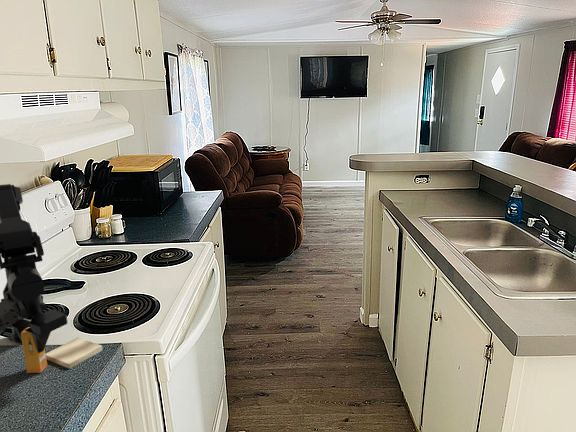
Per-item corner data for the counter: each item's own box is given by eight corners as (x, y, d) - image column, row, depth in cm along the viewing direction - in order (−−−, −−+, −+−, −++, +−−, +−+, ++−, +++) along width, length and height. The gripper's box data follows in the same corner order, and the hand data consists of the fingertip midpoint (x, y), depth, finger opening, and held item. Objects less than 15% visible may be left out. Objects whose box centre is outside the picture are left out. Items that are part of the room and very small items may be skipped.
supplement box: (48, 364, 103) (42, 325, 101) (41, 373, 100) (34, 333, 97) (34, 365, 103) (27, 325, 101) (26, 373, 100) (19, 333, 97)
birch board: (45, 358, 105) (44, 354, 105) (78, 341, 113) (77, 337, 113) (69, 368, 101) (69, 364, 101) (102, 350, 109) (102, 345, 109)
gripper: (-41, 290, 94) (-27, 356, 98) (11, 308, 85) (24, 379, 89) (12, 273, 103) (22, 334, 107) (64, 287, 95) (73, 353, 98)
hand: (34, 349), depth 100 cm, fingers closed on supplement box, 4 cm apart
